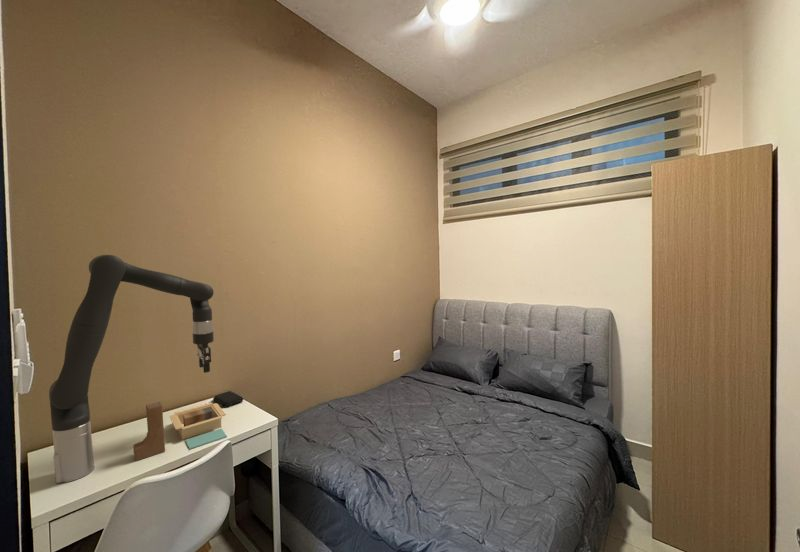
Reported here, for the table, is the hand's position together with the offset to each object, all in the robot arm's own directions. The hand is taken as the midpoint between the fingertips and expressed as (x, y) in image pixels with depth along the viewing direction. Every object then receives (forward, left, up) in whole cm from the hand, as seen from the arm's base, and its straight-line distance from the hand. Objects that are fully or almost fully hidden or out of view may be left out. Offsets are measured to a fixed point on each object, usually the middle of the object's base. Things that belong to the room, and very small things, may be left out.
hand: (204, 369), depth 145 cm
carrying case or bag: (+13, +22, -26) cm, 36 cm away
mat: (-3, -10, -25) cm, 27 cm away
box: (-3, +4, -25) cm, 26 cm away
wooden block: (-21, -7, -25) cm, 33 cm away
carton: (-3, +4, -25) cm, 26 cm away
